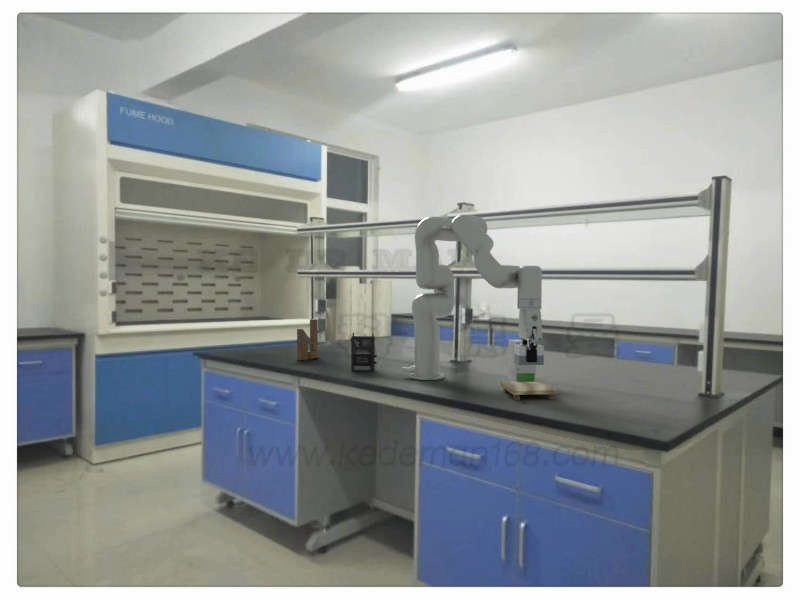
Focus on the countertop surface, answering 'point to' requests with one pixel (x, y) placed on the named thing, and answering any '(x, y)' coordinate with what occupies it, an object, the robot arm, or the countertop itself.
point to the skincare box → (519, 367)
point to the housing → (521, 355)
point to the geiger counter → (363, 353)
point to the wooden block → (308, 342)
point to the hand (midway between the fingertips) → (528, 360)
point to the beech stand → (528, 389)
